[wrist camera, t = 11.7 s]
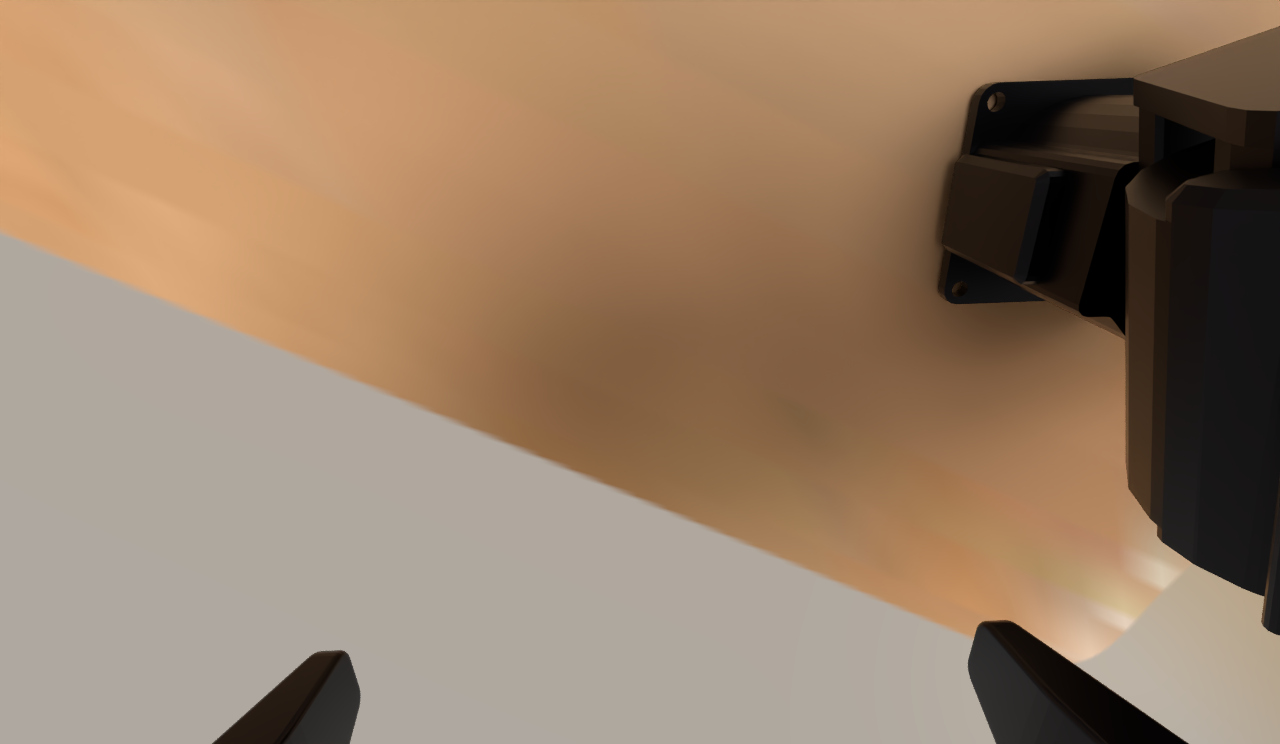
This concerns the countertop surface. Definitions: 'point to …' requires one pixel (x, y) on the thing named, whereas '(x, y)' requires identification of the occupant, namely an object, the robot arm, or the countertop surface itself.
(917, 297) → the countertop surface
